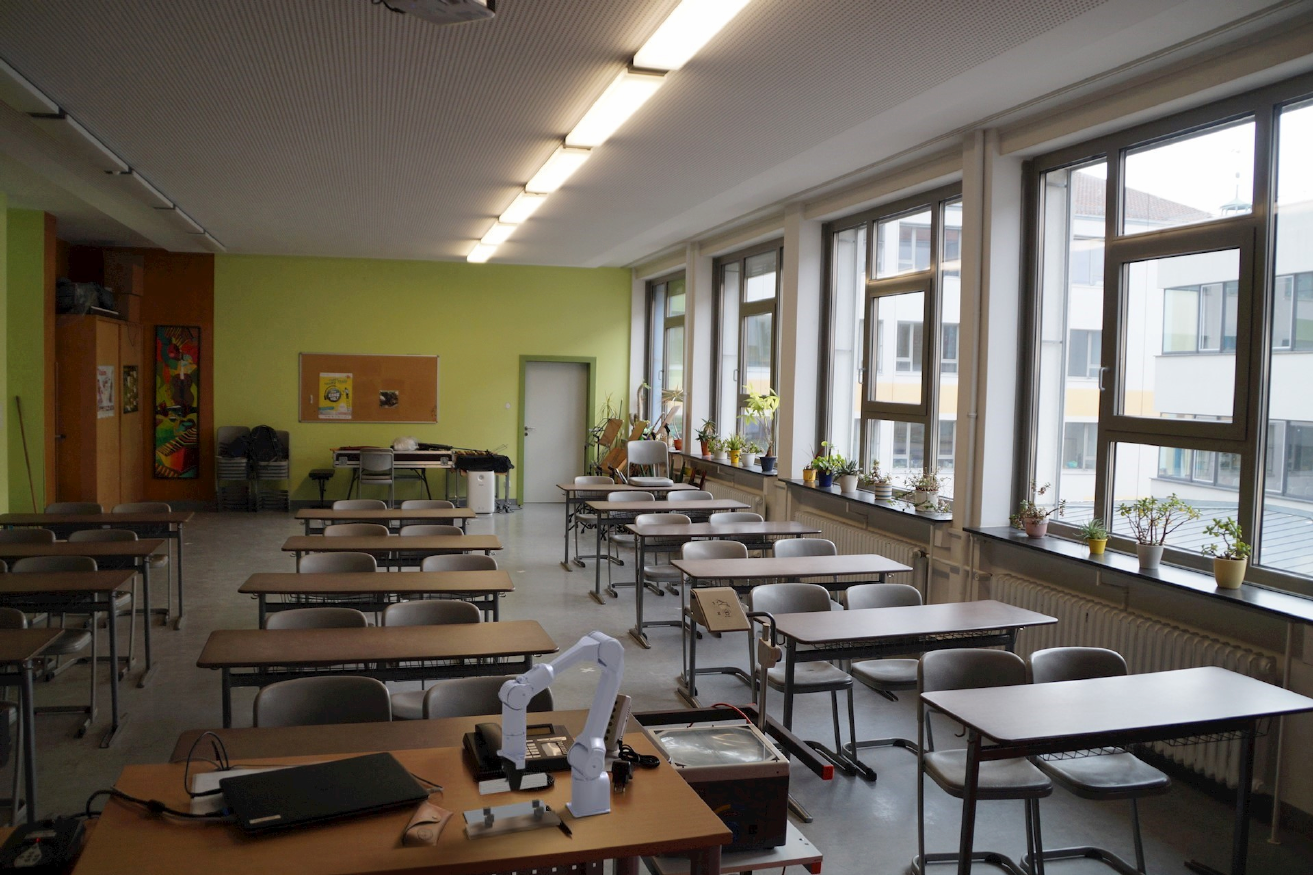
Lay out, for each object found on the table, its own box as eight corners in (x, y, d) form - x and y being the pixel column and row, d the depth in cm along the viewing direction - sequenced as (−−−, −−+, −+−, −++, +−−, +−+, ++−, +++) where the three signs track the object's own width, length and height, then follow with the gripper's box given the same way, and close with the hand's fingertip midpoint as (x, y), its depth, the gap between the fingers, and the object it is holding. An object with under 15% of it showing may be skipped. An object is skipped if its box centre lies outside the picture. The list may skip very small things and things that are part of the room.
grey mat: (542, 801, 230) (542, 799, 230) (549, 812, 224) (549, 811, 224) (463, 812, 223) (463, 811, 223) (468, 825, 217) (468, 823, 217)
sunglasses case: (438, 846, 206) (423, 821, 205) (411, 861, 206) (396, 836, 206) (455, 811, 224) (441, 788, 223) (430, 825, 224) (417, 802, 224)
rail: (544, 781, 220) (544, 772, 220) (546, 785, 218) (546, 776, 218) (479, 791, 214) (479, 782, 214) (480, 794, 212) (480, 785, 212)
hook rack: (554, 814, 223) (554, 796, 223) (560, 824, 217) (561, 806, 217) (465, 828, 215) (465, 809, 215) (469, 839, 209) (469, 820, 209)
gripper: (491, 723, 221) (491, 778, 221) (503, 744, 207) (503, 802, 208) (519, 720, 223) (519, 774, 224) (533, 740, 210) (533, 798, 210)
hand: (513, 787), depth 216 cm, fingers closed on rail, 2 cm apart
